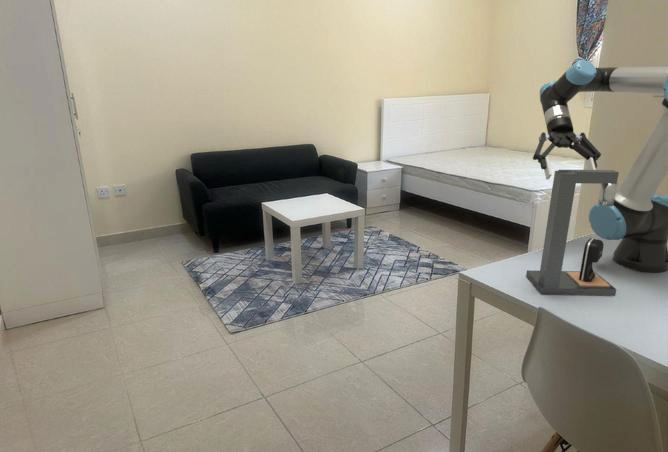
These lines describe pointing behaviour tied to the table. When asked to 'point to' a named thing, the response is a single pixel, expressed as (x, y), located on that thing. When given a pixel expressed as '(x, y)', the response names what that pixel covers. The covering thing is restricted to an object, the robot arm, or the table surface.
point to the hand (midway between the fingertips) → (571, 177)
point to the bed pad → (594, 283)
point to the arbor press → (560, 208)
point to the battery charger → (590, 258)
